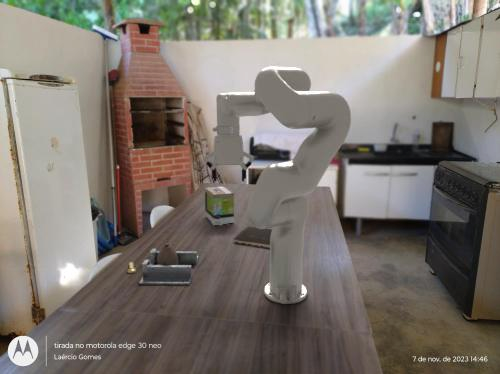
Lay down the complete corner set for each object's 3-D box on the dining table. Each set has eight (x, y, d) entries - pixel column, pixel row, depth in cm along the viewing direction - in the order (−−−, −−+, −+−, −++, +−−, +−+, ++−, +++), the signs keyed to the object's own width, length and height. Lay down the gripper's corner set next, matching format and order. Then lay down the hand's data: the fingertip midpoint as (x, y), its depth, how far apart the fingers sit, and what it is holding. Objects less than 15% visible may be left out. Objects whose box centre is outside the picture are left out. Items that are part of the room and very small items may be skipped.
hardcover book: (289, 252, 142) (289, 246, 141) (233, 244, 150) (233, 238, 149) (299, 237, 156) (300, 232, 156) (248, 230, 164) (248, 225, 164)
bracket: (189, 284, 117) (188, 270, 115) (139, 284, 117) (138, 269, 116) (198, 257, 137) (198, 244, 135) (156, 256, 137) (155, 244, 136)
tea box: (234, 223, 172) (234, 192, 168) (213, 226, 168) (212, 194, 165) (224, 214, 185) (224, 185, 182) (204, 216, 182) (203, 187, 178)
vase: (169, 263, 131) (168, 240, 129) (182, 269, 127) (181, 244, 125) (153, 270, 126) (151, 246, 124) (166, 276, 122) (165, 251, 120)
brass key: (136, 273, 125) (136, 270, 125) (127, 274, 124) (127, 272, 124) (135, 263, 132) (135, 261, 131) (127, 265, 131) (126, 262, 131)
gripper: (201, 132, 123) (202, 183, 127) (254, 131, 122) (254, 183, 127) (204, 129, 130) (205, 178, 134) (254, 129, 130) (254, 178, 134)
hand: (229, 180), depth 130 cm, fingers open, 9 cm apart
